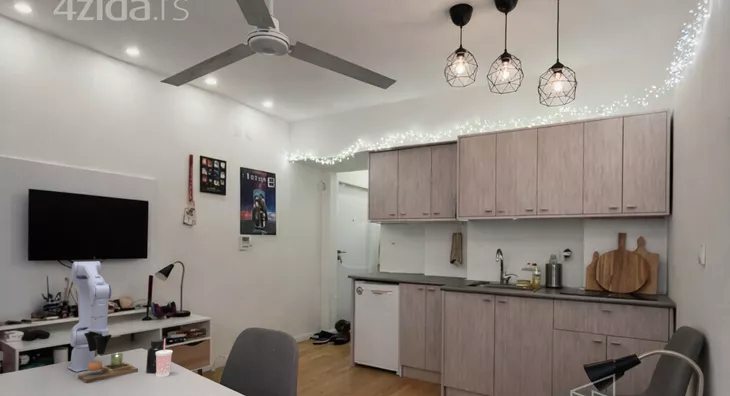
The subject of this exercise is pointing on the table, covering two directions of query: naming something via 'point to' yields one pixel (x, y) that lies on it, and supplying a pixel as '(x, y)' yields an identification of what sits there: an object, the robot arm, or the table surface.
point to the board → (107, 373)
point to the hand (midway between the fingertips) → (96, 352)
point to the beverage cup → (163, 362)
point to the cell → (116, 360)
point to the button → (95, 366)
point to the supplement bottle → (153, 354)
